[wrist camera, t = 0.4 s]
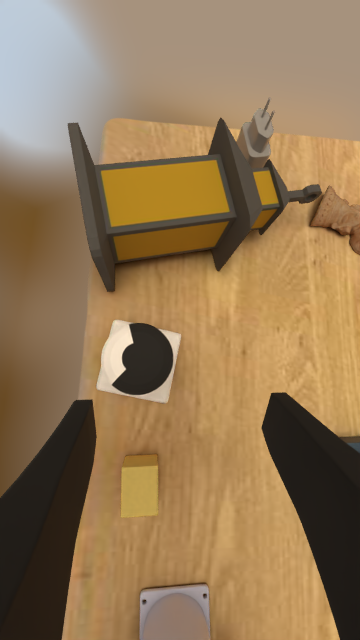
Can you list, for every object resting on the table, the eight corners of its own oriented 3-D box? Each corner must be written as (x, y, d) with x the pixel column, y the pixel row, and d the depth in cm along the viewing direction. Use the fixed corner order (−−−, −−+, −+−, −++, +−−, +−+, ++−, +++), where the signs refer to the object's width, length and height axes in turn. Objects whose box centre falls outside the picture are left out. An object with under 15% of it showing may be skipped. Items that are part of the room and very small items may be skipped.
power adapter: (245, 160, 44) (278, 84, 33) (253, 190, 44) (290, 123, 32) (227, 162, 44) (254, 86, 32) (234, 192, 43) (264, 125, 31)
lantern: (108, 294, 38) (302, 261, 43) (89, 251, 24) (377, 211, 29) (92, 202, 40) (278, 181, 45) (66, 115, 26) (338, 99, 31)
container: (176, 341, 38) (188, 325, 25) (164, 398, 36) (170, 411, 24) (121, 329, 38) (105, 306, 25) (106, 386, 36) (81, 393, 23)
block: (157, 497, 34) (158, 515, 30) (124, 499, 34) (120, 518, 29) (157, 454, 35) (158, 465, 31) (125, 455, 35) (121, 467, 30)
